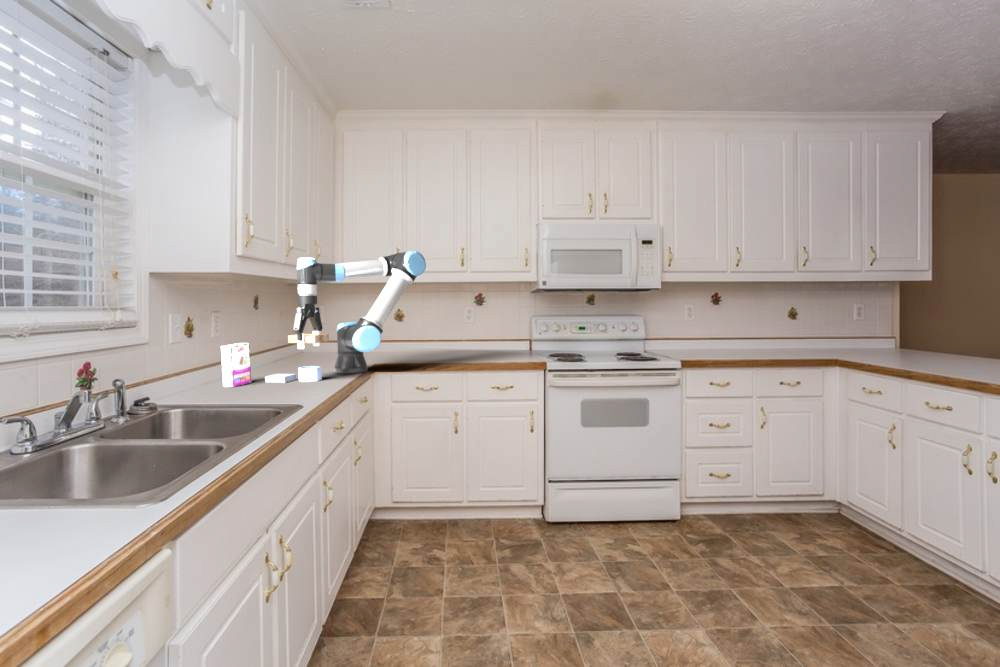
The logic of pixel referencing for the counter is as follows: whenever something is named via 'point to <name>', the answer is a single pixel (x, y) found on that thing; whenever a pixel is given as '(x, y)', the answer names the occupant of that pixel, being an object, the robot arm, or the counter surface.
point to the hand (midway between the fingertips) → (309, 347)
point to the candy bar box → (236, 364)
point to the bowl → (310, 373)
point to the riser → (280, 378)
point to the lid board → (310, 338)
